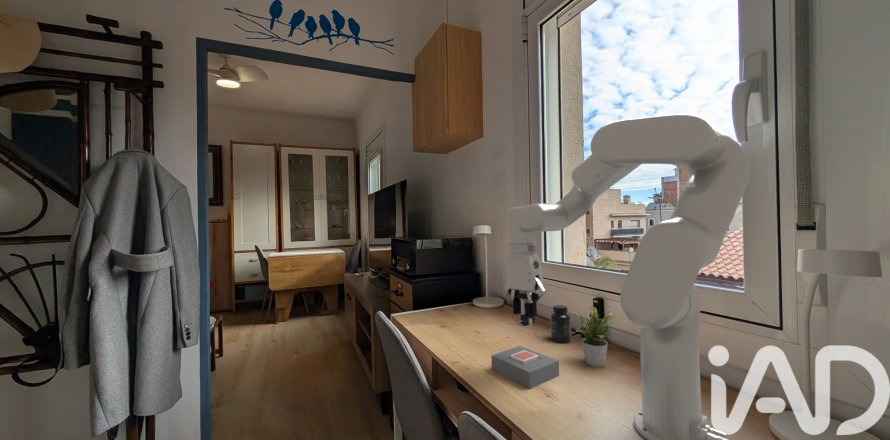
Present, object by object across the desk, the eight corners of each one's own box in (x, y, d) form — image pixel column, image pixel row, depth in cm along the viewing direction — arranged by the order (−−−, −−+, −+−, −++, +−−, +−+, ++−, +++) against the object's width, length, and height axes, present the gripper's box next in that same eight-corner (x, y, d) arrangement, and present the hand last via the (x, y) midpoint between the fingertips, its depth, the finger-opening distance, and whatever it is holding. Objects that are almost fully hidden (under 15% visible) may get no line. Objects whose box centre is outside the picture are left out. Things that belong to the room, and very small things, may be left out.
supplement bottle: (547, 338, 117) (546, 305, 117) (563, 336, 118) (562, 303, 119) (558, 344, 110) (557, 309, 110) (575, 342, 112) (574, 308, 112)
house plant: (637, 375, 86) (635, 314, 87) (586, 376, 86) (584, 315, 87) (609, 354, 101) (608, 302, 101) (566, 355, 100) (564, 303, 101)
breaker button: (538, 368, 89) (538, 355, 89) (524, 374, 86) (523, 360, 86) (524, 362, 93) (524, 350, 93) (510, 367, 90) (510, 355, 90)
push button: (526, 329, 85) (525, 291, 85) (510, 325, 89) (509, 289, 89) (539, 323, 90) (538, 288, 90) (523, 320, 94) (522, 286, 94)
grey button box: (559, 375, 87) (558, 360, 87) (530, 388, 80) (529, 372, 80) (520, 358, 99) (519, 345, 99) (491, 369, 92) (491, 355, 92)
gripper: (555, 249, 86) (559, 318, 85) (509, 248, 99) (511, 308, 98) (537, 251, 81) (541, 323, 80) (491, 250, 95) (494, 312, 94)
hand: (524, 314), depth 89 cm, fingers closed on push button, 4 cm apart
